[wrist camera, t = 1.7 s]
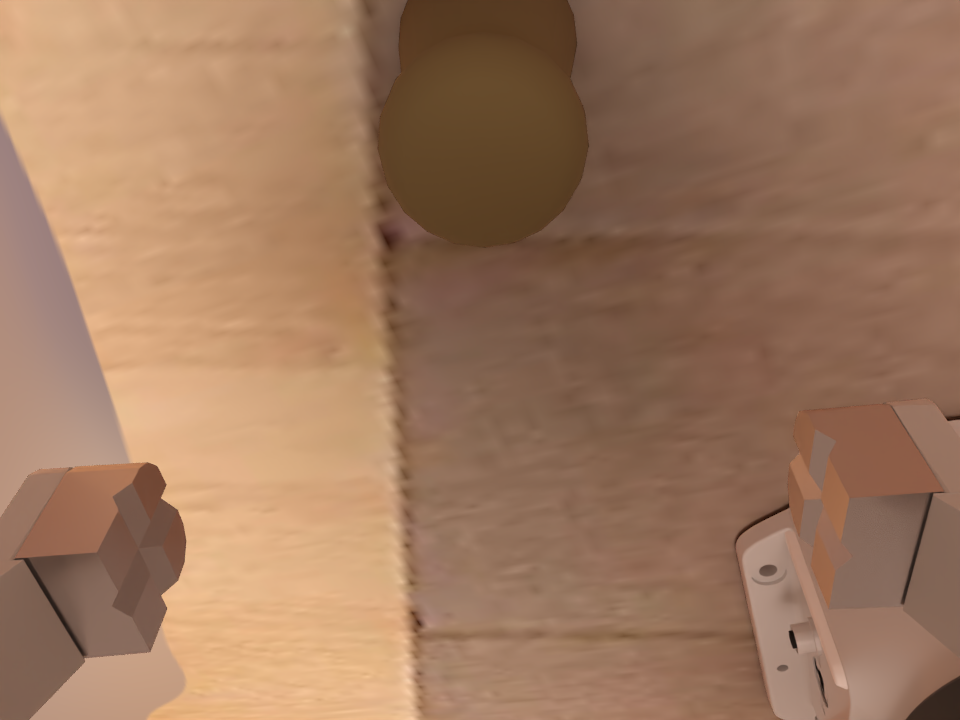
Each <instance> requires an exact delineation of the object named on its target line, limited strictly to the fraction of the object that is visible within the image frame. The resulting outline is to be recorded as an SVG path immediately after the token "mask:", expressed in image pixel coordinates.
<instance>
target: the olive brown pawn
mask: <svg viewBox="0 0 960 720" xmlns="http://www.w3.org/2000/svg"><path fill="white" fill-rule="evenodd" d="M576 46H577V40H576V31H575V22H574V14H573V12H572V10H571V8H570V5H569V3H568V1H567V0H408V2H407V4H406V7H405V9H404V11H403V14H402V16H401V21H400V34H399V56H400V64H401V74H400V75H399V76H398V77H397V78H396V80H395V82H394V84H393V87H392V89H391V92H390V94H389V96H388V99H387V101H386V103H385V106H384V108H383V111H382V113H381V116H380V124H379V139H378V152H379V155H380V159H381V163H382V167H383V171H384V175H385V179H386V182H387V185H388V187H389V189H390V190H391V192H392V193H393V195H394V197H395V198H396V200H397V201H398V203H399V204H400V206H401V208H402V209H403V211H404V212H405V213H406V214H407V215H408V216H410V217H411V218H412V219H413V220H414V221H416V222H417V223H418V224H419V225H420V226H421V227H423V228H424V229H425V230H426V231H427V232H430V233H432V234H434V235H436V236H439V237H441V238H443V239H446V240H448V241H450V242H452V243H455V244H462V245H470V246H477V247H491V246H497V245H504V244H510V243H515V242H517V241H519V240H521V239H524V238H526V237H528V236H530V235H532V234H534V233H536V232H538V231H540V230H542V229H543V228H544V227H545V226H546V225H548V224H549V223H550V222H551V221H552V220H553V219H554V218H555V217H556V216H557V215H559V214H560V213H561V212H562V211H563V210H564V208H565V207H566V205H567V203H568V202H569V200H570V198H571V196H572V195H573V193H574V191H575V190H576V188H577V186H578V184H579V182H580V180H581V178H582V175H583V170H584V166H585V161H586V156H587V152H588V147H589V143H588V134H587V125H586V117H585V111H584V108H583V105H582V103H581V101H580V99H579V97H578V95H577V92H576V90H575V88H574V86H573V84H572V82H571V80H570V77H571V72H572V67H573V62H574V57H575V51H576Z"/></svg>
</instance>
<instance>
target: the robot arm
mask: <svg viewBox="0 0 960 720" xmlns="http://www.w3.org/2000/svg"><path fill="white" fill-rule="evenodd" d="M793 438H794V440H795V442H796V445H797V447H798V449H799V451H800V453H799V454H798V455H797V456H796V457H795V458H794V459H793V460H792V461H791V462H790V463H789V473H788V484H787V485H788V497H789V506H790V507H789V508H788V509H786V510H784V511H782V512H780V513H778V514H776V515H774V516H772V517H770V518H768V519H766V520H764V521H762V522H760V523H758V524H756V525H754V526H753V527H751V528H750V529H748V530H747V531H745V532H744V533H743V534H742V535H741V536H740V537H739V538H738V540H737V542H736V553H737V558H738V562H739V567H740V572H741V576H742V581H743V586H744V591H745V595H746V600H747V605H748V609H749V614H750V619H751V623H752V628H753V633H754V637H755V642H756V647H757V651H758V656H759V661H760V665H761V670H762V675H763V680H764V684H765V689H766V693H767V697H768V700H769V702H770V705H771V707H772V710H773V712H774V714H775V715H776V716H777V717H779V718H781V719H783V720H960V420H952V421H947V419H946V418H945V417H944V415H943V414H942V412H941V411H940V410H939V408H938V407H937V405H936V404H935V403H934V402H932V401H931V400H929V399H927V398H924V399H914V400H904V401H894V402H884V403H883V404H872V405H861V406H849V407H837V408H826V409H814V410H802V411H799V413H798V415H797V417H796V419H795V425H794V432H793ZM165 487H166V483H165V481H164V479H163V477H162V475H161V473H160V471H159V469H158V467H157V466H156V465H153V464H150V463H148V462H147V463H129V464H113V465H94V466H77V467H75V468H70V467H69V468H53V469H39V470H37V471H35V472H33V473H32V474H30V475H28V477H27V478H26V480H25V481H24V483H23V484H22V486H21V487H20V489H19V490H18V492H17V493H16V495H15V496H14V498H13V499H12V501H11V502H10V504H9V505H8V507H7V509H6V510H5V511H4V513H3V514H2V516H1V517H0V720H29V719H30V718H31V717H32V716H33V715H34V714H35V713H36V712H37V711H38V710H39V709H40V708H41V707H42V706H43V705H44V704H45V703H46V702H47V701H48V700H49V699H50V698H51V697H52V696H53V694H54V693H55V692H56V691H57V690H58V689H59V688H60V687H61V686H62V685H63V684H64V683H65V682H66V681H67V680H68V679H69V678H70V677H71V676H72V675H73V674H74V673H75V672H76V671H77V670H78V669H79V668H80V667H81V666H82V664H83V663H84V662H85V660H84V658H92V657H103V656H114V655H125V654H136V653H147V652H150V651H151V649H152V646H153V644H154V641H155V639H156V636H157V633H158V631H159V628H160V626H161V623H162V621H163V618H164V616H165V613H166V610H167V607H166V605H165V603H164V601H163V599H162V597H161V595H162V594H163V593H164V592H165V591H167V590H168V589H169V588H170V587H171V586H172V585H173V584H175V583H176V582H177V581H178V579H179V576H180V573H181V571H182V568H183V565H184V562H185V549H186V536H185V531H184V525H183V522H182V520H181V517H180V515H179V512H178V510H177V509H176V508H174V507H173V506H171V505H170V504H168V503H167V502H165V501H164V500H163V499H161V496H162V494H163V492H164V489H165Z"/></svg>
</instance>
